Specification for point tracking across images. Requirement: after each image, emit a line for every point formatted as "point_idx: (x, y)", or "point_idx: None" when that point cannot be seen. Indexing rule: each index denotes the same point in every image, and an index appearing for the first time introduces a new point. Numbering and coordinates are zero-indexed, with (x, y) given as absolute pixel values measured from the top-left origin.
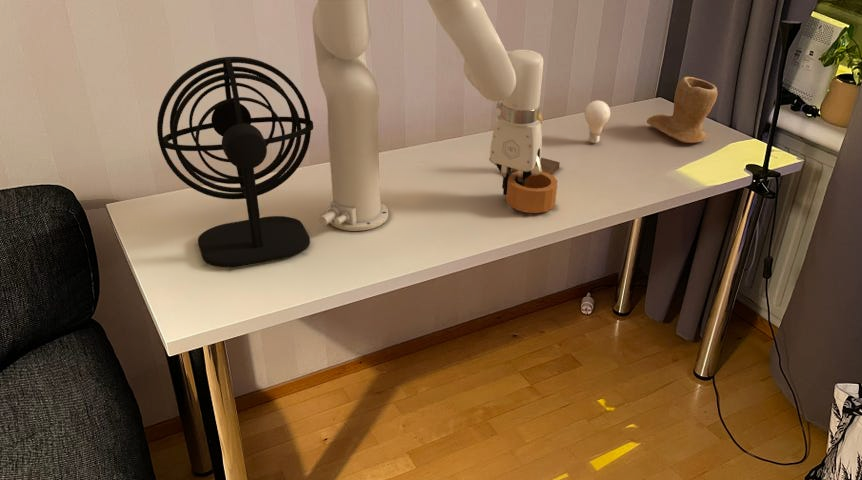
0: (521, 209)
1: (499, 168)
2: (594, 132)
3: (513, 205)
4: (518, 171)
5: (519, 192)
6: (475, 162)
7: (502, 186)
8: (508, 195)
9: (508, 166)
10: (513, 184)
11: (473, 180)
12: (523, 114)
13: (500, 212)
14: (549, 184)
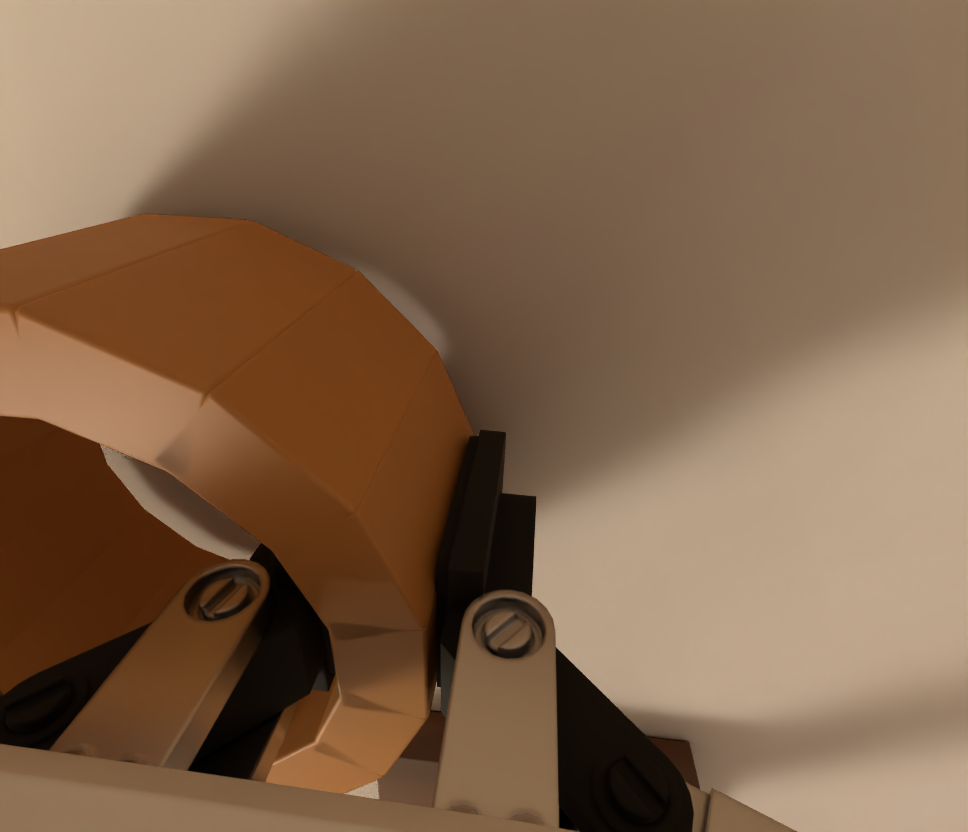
0: (164, 217)
1: (613, 732)
2: None
3: (273, 243)
4: (179, 721)
5: (33, 278)
6: (925, 802)
7: (534, 507)
8: (361, 340)
9: (261, 803)
10: (165, 399)
11: (893, 604)
12: None
13: (410, 139)
14: (42, 651)
